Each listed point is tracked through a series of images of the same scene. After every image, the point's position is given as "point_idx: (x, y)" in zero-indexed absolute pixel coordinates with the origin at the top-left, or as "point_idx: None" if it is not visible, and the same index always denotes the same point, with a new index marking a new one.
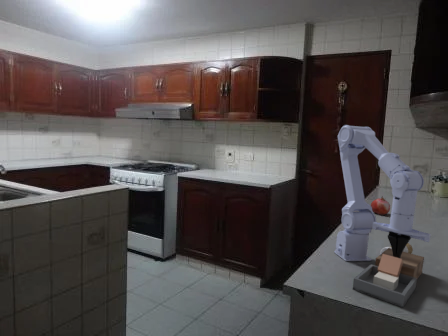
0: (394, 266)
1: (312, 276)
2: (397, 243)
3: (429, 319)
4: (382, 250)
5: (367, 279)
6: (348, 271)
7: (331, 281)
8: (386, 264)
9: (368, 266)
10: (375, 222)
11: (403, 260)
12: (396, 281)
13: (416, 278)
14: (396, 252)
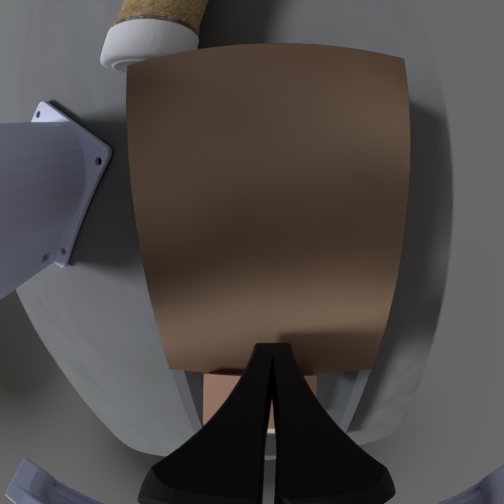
0: None
1: (117, 416)
2: (262, 469)
3: (381, 427)
4: (108, 64)
5: None
6: (127, 347)
7: (154, 420)
8: None
9: (174, 377)
10: (15, 499)
11: (304, 280)
12: None
13: None
14: (268, 412)
